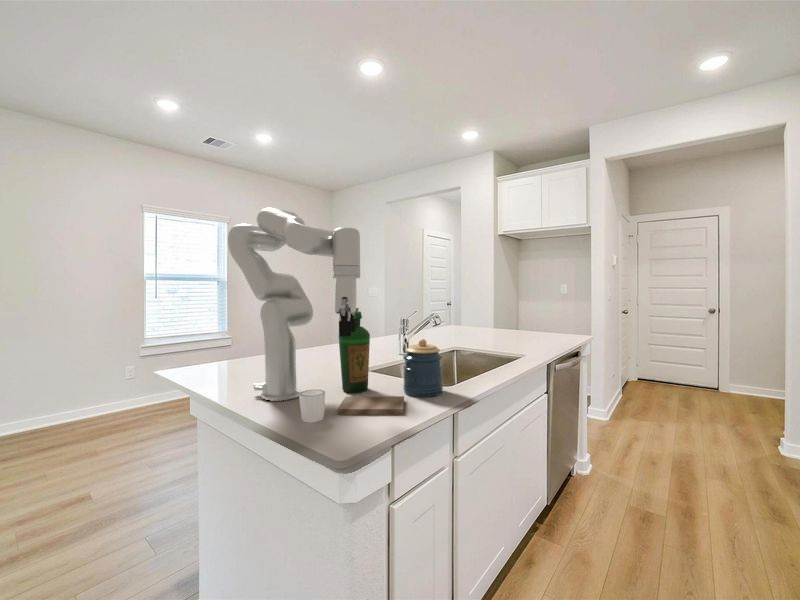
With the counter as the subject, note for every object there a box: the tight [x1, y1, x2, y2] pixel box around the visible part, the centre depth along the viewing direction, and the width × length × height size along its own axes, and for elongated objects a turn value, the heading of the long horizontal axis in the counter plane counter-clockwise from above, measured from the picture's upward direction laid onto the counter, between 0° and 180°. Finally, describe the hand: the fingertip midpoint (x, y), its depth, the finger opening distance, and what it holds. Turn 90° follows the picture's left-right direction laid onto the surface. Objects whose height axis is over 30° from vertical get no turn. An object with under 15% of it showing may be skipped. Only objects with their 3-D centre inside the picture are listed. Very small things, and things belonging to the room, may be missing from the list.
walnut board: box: [336, 395, 405, 416], centre depth 107 cm, size 18×12×2 cm, turn 88°
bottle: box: [338, 307, 371, 394], centre depth 126 cm, size 11×11×28 cm
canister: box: [402, 338, 444, 398], centre depth 122 cm, size 13×13×18 cm
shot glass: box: [298, 389, 326, 423], centre depth 99 cm, size 7×7×7 cm
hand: (347, 334), depth 104 cm, fingers open, 9 cm apart
